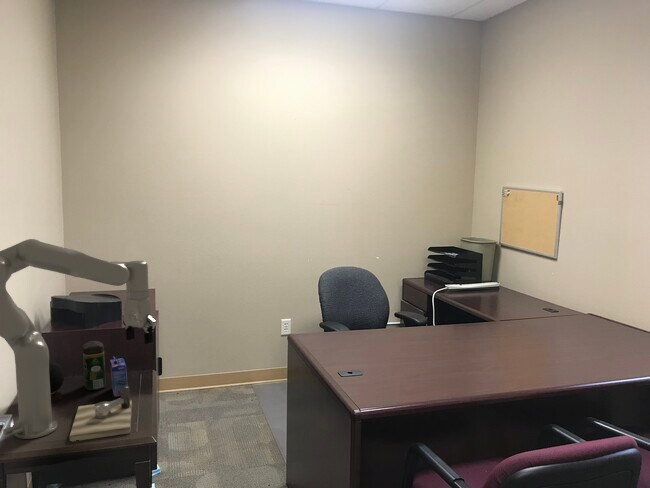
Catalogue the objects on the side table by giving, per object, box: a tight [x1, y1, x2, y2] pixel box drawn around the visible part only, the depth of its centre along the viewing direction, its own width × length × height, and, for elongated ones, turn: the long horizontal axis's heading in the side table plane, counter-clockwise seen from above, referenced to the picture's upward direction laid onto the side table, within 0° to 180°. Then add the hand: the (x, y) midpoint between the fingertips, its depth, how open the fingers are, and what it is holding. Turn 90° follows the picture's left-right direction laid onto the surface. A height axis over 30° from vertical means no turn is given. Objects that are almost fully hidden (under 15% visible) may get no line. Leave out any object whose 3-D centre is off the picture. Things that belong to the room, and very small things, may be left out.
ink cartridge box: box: [109, 356, 129, 398], centre depth 205 cm, size 10×6×14 cm, turn 27°
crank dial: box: [94, 384, 131, 419], centre depth 181 cm, size 13×5×7 cm, turn 147°
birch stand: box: [69, 399, 133, 442], centre depth 178 cm, size 24×18×2 cm
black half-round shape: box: [49, 360, 65, 405], centre depth 197 cm, size 13×13×15 cm
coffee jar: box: [82, 340, 107, 391], centre depth 210 cm, size 10×8×19 cm
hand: (139, 341), depth 189 cm, fingers open, 9 cm apart
